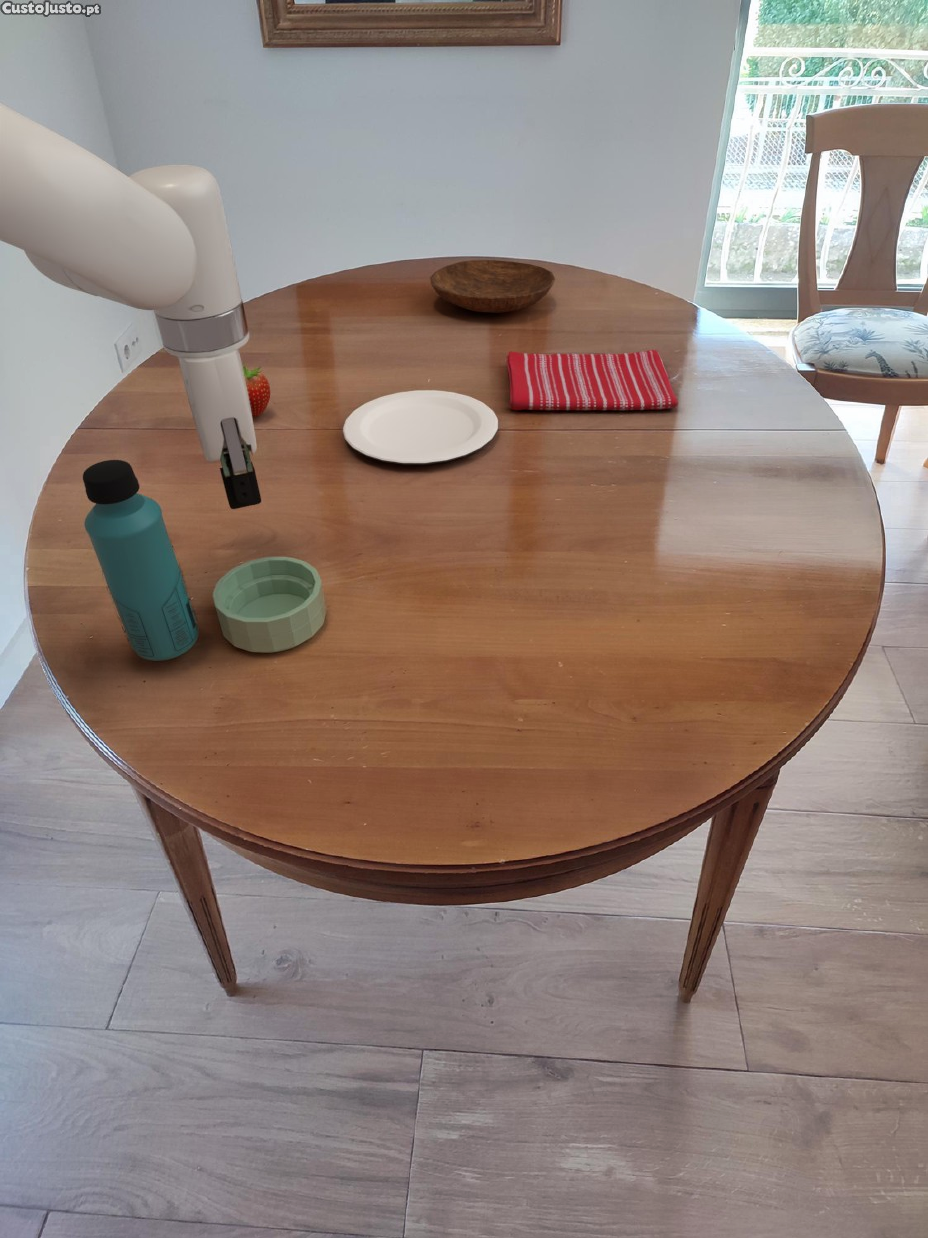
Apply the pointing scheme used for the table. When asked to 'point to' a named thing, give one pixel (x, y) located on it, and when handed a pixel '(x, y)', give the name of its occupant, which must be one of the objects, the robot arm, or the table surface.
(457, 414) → the plate
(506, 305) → the bowl
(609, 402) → the dish towel
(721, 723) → the table surface
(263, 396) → the fruit
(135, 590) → the beverage bottle
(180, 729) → the table surface
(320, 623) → the celadon bowl
